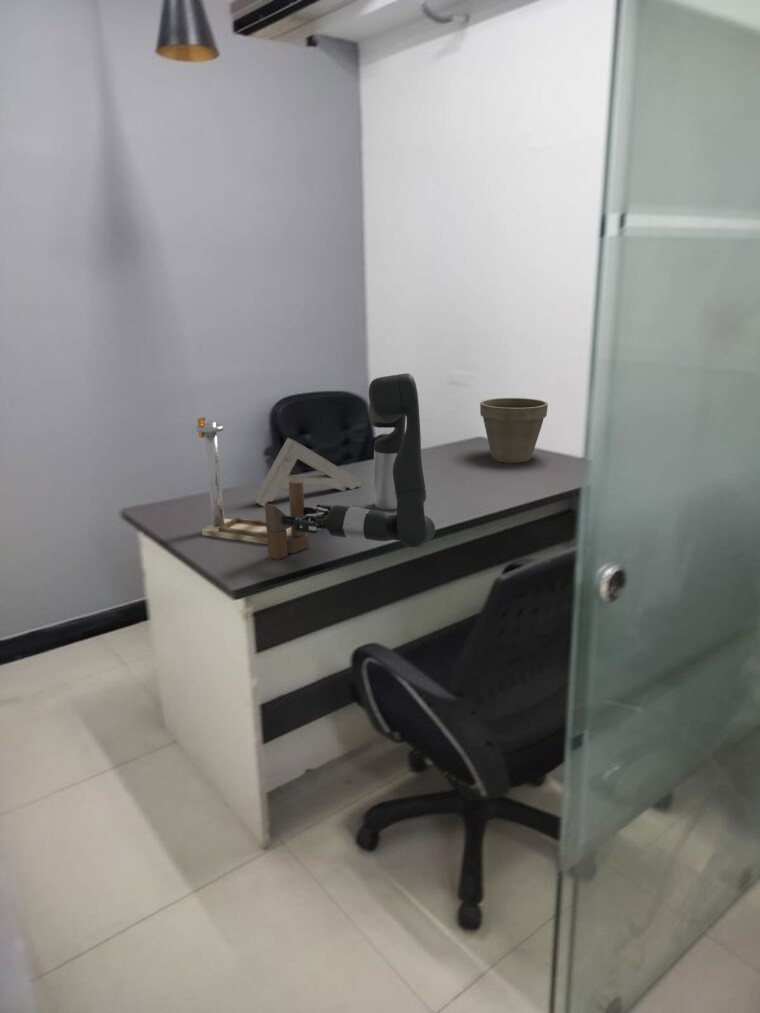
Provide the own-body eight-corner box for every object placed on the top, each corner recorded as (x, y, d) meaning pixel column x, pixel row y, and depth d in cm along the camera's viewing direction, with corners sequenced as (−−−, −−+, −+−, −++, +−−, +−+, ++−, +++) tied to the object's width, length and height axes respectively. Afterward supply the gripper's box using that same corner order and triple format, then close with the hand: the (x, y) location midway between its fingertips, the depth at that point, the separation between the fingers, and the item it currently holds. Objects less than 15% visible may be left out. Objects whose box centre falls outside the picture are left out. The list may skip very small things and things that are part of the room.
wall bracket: (331, 540, 224) (258, 504, 206) (324, 537, 228) (253, 500, 209) (363, 481, 225) (294, 440, 207) (356, 478, 229) (287, 437, 210)
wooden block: (267, 556, 169) (263, 487, 164) (299, 544, 177) (296, 477, 171) (277, 560, 167) (273, 490, 161) (309, 547, 175) (306, 480, 169)
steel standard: (236, 527, 190) (228, 417, 180) (222, 535, 184) (213, 422, 174) (215, 524, 192) (205, 415, 183) (200, 532, 186) (190, 420, 176)
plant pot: (471, 451, 271) (473, 397, 264) (531, 449, 273) (535, 395, 267) (487, 468, 247) (490, 408, 240) (553, 465, 250) (557, 406, 243)
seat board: (298, 533, 185) (298, 524, 184) (280, 546, 176) (280, 536, 175) (223, 523, 193) (222, 514, 192) (202, 535, 184) (201, 526, 184)
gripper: (362, 499, 168) (302, 492, 174) (338, 517, 156) (274, 509, 161) (362, 527, 171) (303, 520, 176) (339, 547, 158) (276, 539, 164)
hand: (290, 515), depth 169 cm, fingers open, 7 cm apart
